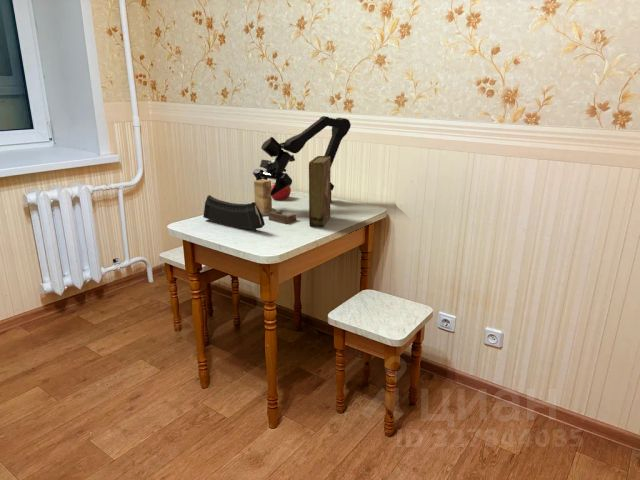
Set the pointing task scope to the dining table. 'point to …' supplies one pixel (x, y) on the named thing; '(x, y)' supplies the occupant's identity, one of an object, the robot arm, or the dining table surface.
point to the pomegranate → (281, 193)
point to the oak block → (263, 195)
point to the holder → (281, 217)
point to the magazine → (233, 214)
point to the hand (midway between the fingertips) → (263, 193)
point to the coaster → (269, 212)
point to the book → (319, 190)
